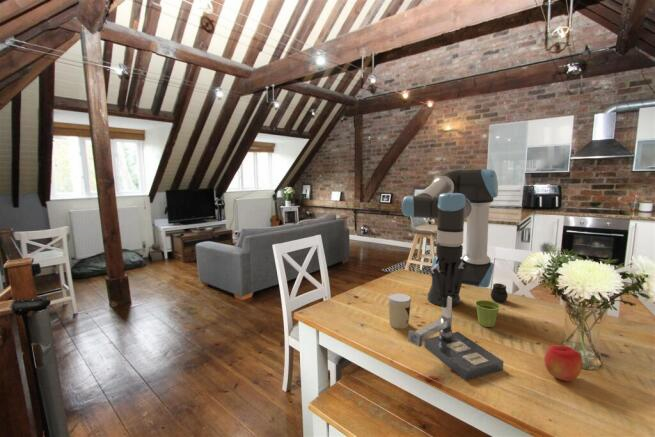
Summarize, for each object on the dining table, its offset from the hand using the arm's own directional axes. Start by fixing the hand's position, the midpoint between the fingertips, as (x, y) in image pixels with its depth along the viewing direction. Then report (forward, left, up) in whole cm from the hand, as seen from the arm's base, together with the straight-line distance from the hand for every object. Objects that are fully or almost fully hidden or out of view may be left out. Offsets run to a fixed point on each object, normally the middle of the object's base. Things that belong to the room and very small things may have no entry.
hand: (446, 315), depth 98 cm
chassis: (-9, -2, -18) cm, 20 cm away
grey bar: (-1, -8, -12) cm, 14 cm away
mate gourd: (-61, -33, -18) cm, 72 cm away
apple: (-30, +17, -18) cm, 39 cm away
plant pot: (-36, -17, -18) cm, 44 cm away
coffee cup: (-2, -30, -18) cm, 36 cm away
